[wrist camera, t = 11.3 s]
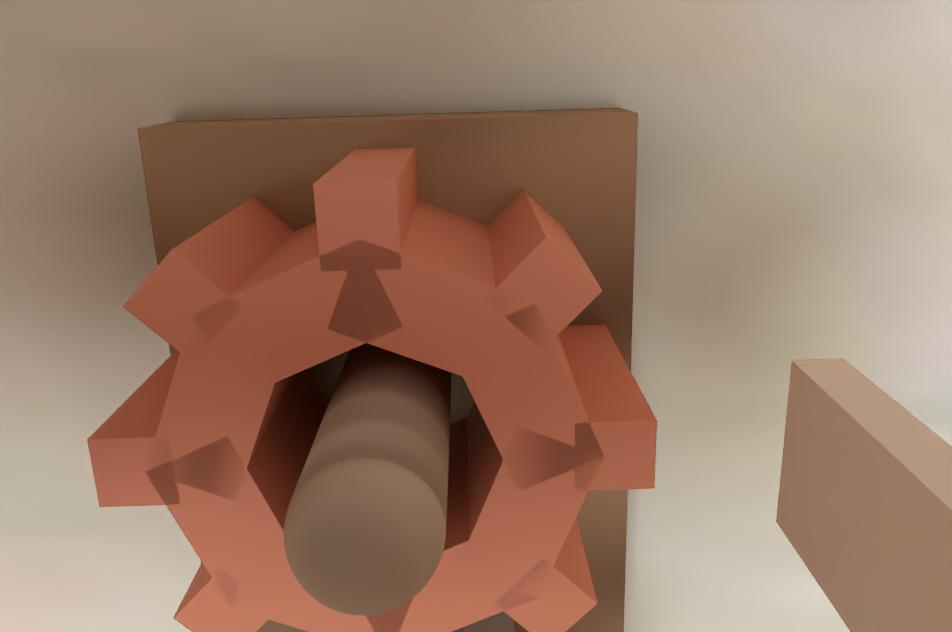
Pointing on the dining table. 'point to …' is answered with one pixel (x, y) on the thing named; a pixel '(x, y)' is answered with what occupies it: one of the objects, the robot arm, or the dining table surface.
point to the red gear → (400, 331)
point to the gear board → (449, 181)
